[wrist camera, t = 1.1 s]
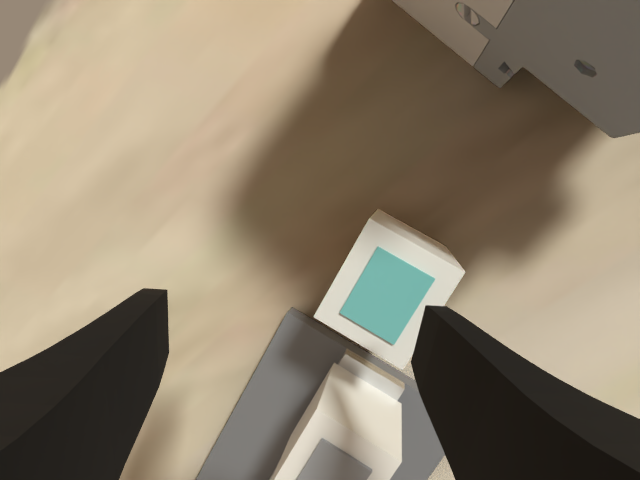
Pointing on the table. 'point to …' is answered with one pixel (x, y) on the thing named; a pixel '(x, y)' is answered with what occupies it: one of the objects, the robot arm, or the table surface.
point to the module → (389, 287)
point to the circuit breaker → (550, 48)
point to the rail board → (292, 400)
